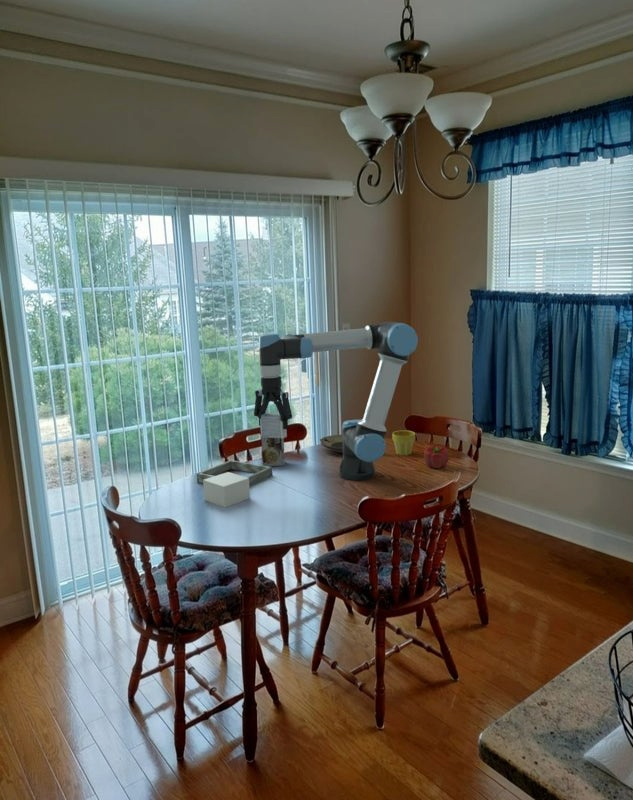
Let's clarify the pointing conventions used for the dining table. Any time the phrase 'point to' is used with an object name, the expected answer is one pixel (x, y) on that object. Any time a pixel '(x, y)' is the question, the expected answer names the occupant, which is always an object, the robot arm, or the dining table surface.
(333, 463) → the dining table surface
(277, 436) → the medicine box
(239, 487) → the riser block
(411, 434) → the plant pot
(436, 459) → the vegetable
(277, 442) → the coffee box
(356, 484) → the dining table surface
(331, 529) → the dining table surface
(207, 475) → the bowl tray frame
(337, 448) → the olive brown bowl
